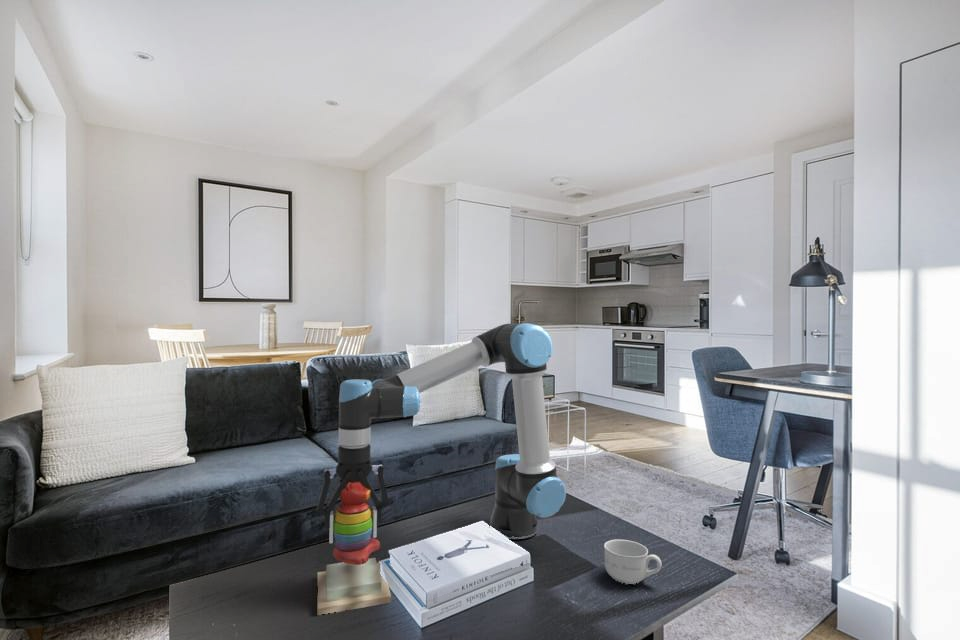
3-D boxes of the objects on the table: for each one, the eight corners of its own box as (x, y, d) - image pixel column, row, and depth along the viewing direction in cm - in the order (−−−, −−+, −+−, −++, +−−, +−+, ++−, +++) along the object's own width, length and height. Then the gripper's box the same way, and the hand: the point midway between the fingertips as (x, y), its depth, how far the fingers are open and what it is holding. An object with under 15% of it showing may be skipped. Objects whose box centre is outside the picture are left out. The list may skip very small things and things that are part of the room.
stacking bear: (363, 566, 107) (364, 488, 108) (323, 561, 110) (324, 484, 110) (382, 545, 118) (383, 473, 118) (345, 540, 120) (346, 470, 120)
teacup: (596, 578, 120) (596, 546, 120) (616, 562, 128) (616, 533, 128) (649, 600, 111) (650, 566, 111) (667, 582, 119) (668, 550, 119)
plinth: (382, 568, 124) (382, 552, 124) (391, 602, 109) (391, 585, 109) (317, 578, 119) (317, 562, 119) (317, 615, 103) (317, 597, 104)
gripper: (397, 437, 121) (396, 525, 121) (306, 443, 114) (304, 537, 114) (402, 445, 114) (401, 538, 114) (305, 451, 107) (303, 551, 107)
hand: (353, 537), depth 114 cm, fingers closed on stacking bear, 9 cm apart
